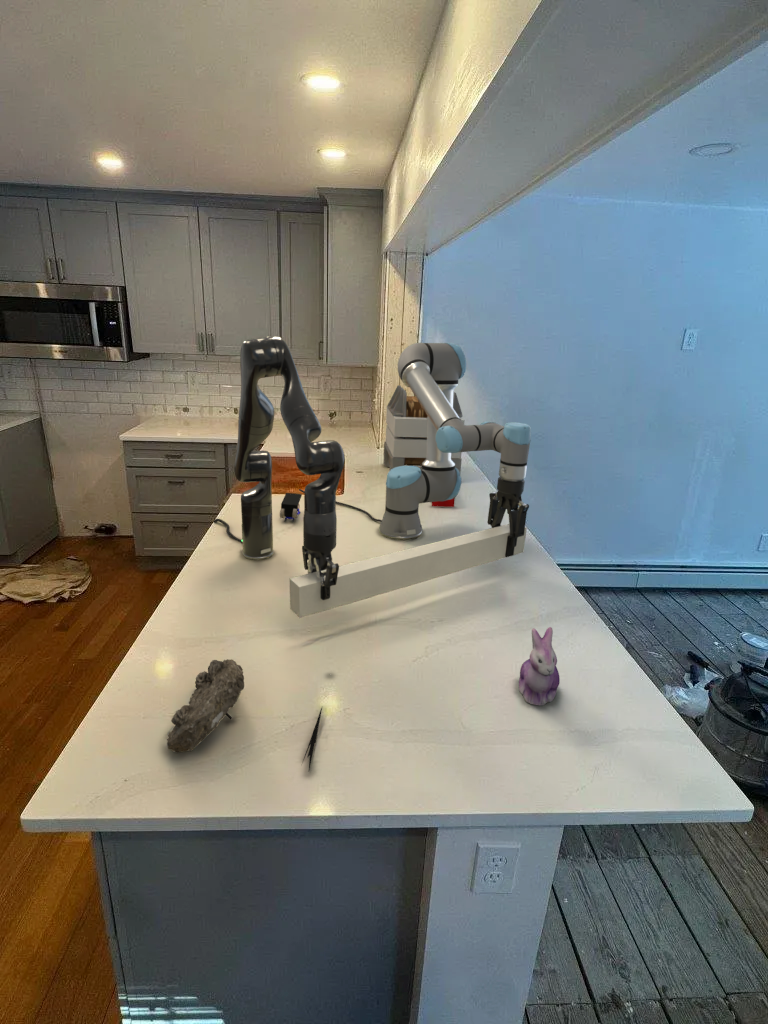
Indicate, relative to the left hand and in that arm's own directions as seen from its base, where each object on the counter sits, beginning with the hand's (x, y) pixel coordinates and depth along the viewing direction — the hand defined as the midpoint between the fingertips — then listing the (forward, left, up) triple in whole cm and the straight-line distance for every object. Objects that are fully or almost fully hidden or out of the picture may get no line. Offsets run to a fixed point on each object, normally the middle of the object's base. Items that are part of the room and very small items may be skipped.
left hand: (319, 593), depth 135 cm
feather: (+26, -18, -10) cm, 33 cm away
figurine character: (-70, +36, -10) cm, 80 cm away
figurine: (+48, +23, -10) cm, 54 cm away
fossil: (+13, -34, -10) cm, 38 cm away
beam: (+3, +31, -3) cm, 31 cm away
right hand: (+7, +61, -3) cm, 62 cm away
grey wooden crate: (-88, +119, -10) cm, 149 cm away
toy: (-57, +101, -10) cm, 117 cm away
